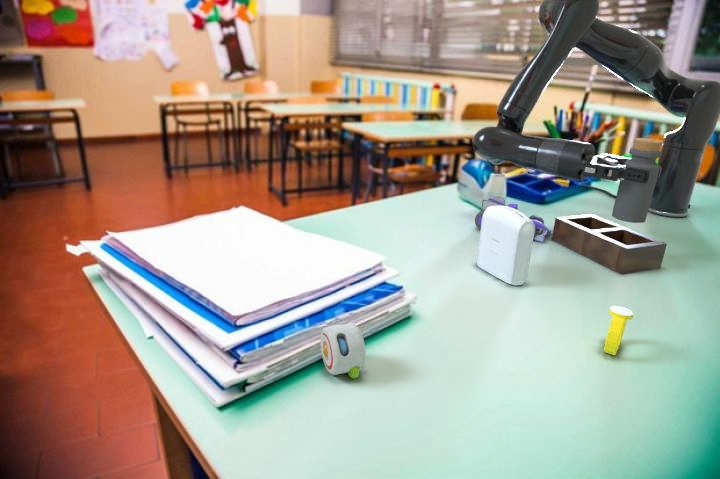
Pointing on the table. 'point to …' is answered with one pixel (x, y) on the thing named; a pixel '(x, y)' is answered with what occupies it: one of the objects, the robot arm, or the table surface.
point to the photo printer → (505, 244)
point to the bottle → (633, 194)
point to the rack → (609, 243)
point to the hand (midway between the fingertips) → (654, 174)
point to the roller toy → (343, 349)
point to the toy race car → (501, 201)
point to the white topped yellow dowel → (616, 328)
